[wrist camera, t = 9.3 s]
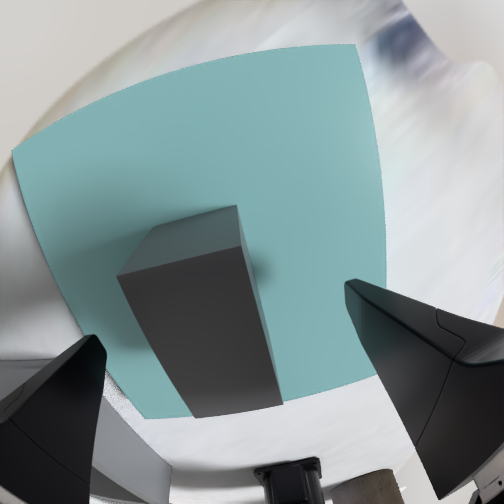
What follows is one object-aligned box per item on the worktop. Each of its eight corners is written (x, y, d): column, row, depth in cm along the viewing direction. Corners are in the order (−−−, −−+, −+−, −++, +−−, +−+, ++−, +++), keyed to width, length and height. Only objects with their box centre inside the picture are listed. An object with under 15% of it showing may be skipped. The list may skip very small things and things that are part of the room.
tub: (171, 467, 21) (168, 508, 16) (70, 456, 21) (61, 488, 17) (74, 357, 15) (46, 414, 10) (-19, 360, 15) (-42, 394, 10)
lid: (366, 350, 16) (406, 423, 11) (150, 394, 17) (134, 471, 11) (335, 57, 10) (413, 11, 4) (38, 146, 10) (-53, 166, 4)
